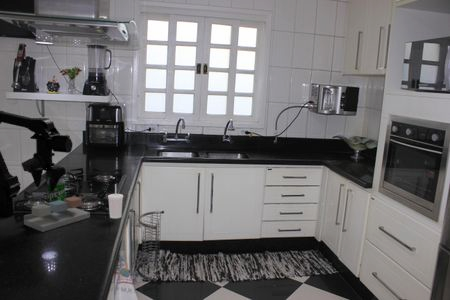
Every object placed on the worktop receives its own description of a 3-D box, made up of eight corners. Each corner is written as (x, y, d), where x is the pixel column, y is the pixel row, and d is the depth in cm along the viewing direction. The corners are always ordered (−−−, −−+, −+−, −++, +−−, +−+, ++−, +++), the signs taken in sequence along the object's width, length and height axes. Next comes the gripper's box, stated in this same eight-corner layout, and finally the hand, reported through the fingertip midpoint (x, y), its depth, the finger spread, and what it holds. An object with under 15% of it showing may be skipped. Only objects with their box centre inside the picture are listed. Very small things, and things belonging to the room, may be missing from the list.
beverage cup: (107, 219, 163) (107, 186, 161) (108, 214, 169) (108, 182, 166) (123, 218, 165) (123, 185, 162) (123, 213, 171) (123, 182, 168)
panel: (24, 224, 153) (23, 215, 153) (71, 210, 171) (71, 203, 170) (42, 232, 147) (42, 222, 146) (89, 217, 164) (89, 209, 164)
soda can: (44, 204, 177) (43, 178, 175) (61, 201, 182) (60, 176, 180) (52, 209, 172) (51, 182, 170) (68, 205, 177) (68, 179, 175)
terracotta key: (64, 205, 163) (64, 198, 163) (74, 203, 167) (74, 196, 167) (71, 208, 161) (71, 201, 160) (81, 205, 165) (81, 198, 164)
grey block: (31, 214, 152) (31, 206, 151) (43, 211, 155) (43, 204, 155) (39, 217, 149) (39, 209, 148) (51, 214, 153) (50, 206, 152)
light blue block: (48, 210, 157) (48, 202, 157) (59, 207, 161) (59, 200, 161) (56, 212, 155) (55, 205, 154) (66, 209, 159) (66, 202, 158)
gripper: (10, 149, 155) (11, 188, 158) (40, 157, 145) (40, 198, 148) (36, 146, 164) (37, 183, 167) (66, 153, 155) (66, 192, 157)
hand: (44, 189), depth 160 cm, fingers open, 9 cm apart
